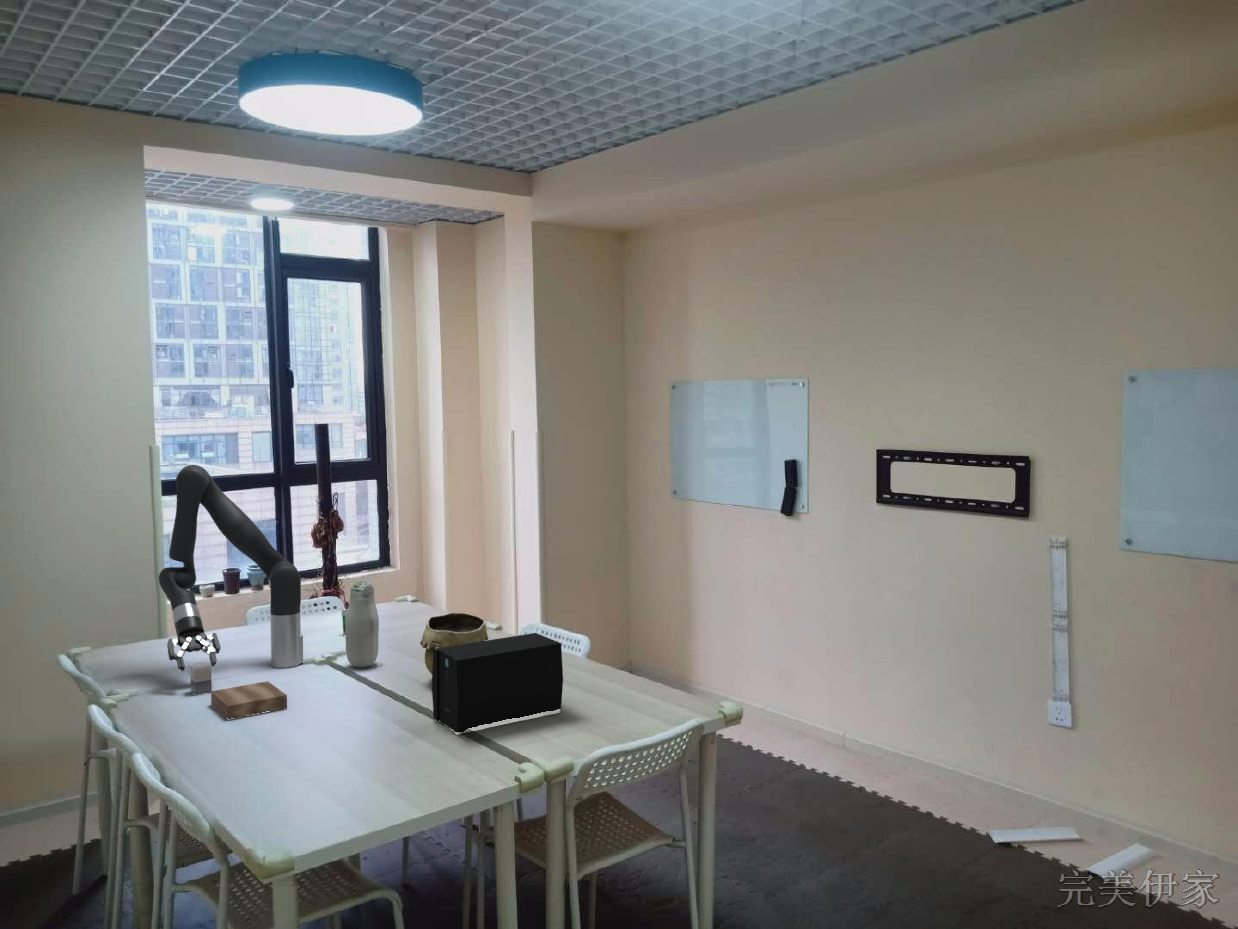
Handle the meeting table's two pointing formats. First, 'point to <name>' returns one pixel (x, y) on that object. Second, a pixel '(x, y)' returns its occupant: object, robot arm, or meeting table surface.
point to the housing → (201, 678)
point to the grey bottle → (362, 626)
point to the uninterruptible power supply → (496, 680)
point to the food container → (344, 620)
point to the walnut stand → (248, 700)
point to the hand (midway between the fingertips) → (198, 667)
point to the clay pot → (451, 633)
